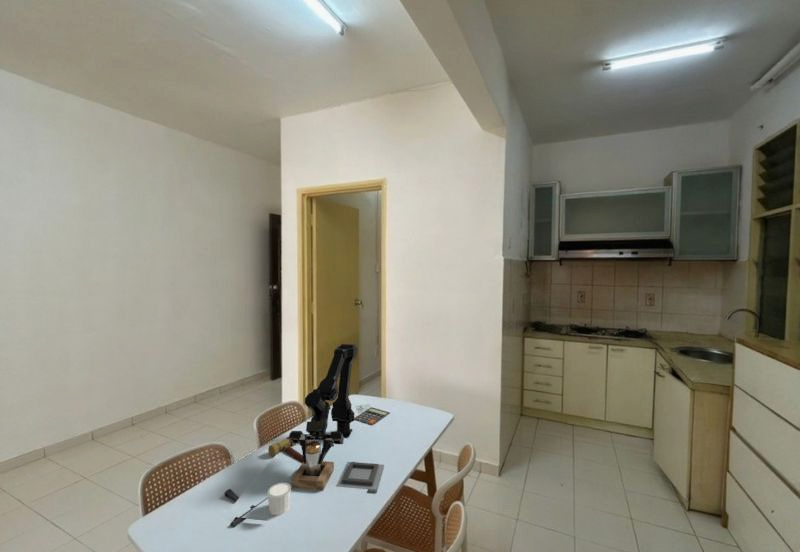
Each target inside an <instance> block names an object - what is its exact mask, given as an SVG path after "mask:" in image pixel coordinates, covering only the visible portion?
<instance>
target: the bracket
mask: <svg viewBox="0 0 800 552" xmlns="http://www.w3.org/2000/svg"><path fill="white" fill-rule="evenodd" d="M224 496H225V497H226V498H227V499H229V500H231V501H232V502H234V503H237V501H238V500H239V499H240V496H238V495H237V494H236V493H235V492H234V491H233V490H232V489H231V488H229V489H227V490H226V491H224ZM266 500H268V497H266V498H265V499H264V500H262V501H260V502H259V503H258V504H256V505H254V504H253V505H251V506H249V508H250V509H249V510H247V511H246V512H245V513H243V514H241V515H240V516H235V517H234V518H233V519H232V521H231V523H230V526H233V528H235V527H237V526H238V525H240V524H241V523H242V522H244V521H246V520H247V518H246V517H244V516H246V515H247V514H248V513H250V512H252V510H253V509H255V508H257V507H258V506H260V505H261V504H262V503H263V502H265V501H266Z"/></svg>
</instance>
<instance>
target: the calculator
mask: <svg viewBox="0 0 800 552" xmlns="http://www.w3.org/2000/svg"><path fill="white" fill-rule="evenodd" d="M390 414H391V412H389V411H386V410H383V409H382V410H381V409H379V408H375V407H370V408H368V409H366V410H364V411H363V412H361V413H360V414H358V415H356V416H354V421H357V422H360V423H363V424H367V425H369V426H374V425H375V424H377V423H378V422H380V421H381V420H383V419H384V418H385V417H388V415H390Z"/></svg>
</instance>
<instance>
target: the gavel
mask: <svg viewBox="0 0 800 552" xmlns="http://www.w3.org/2000/svg"><path fill="white" fill-rule="evenodd" d="M288 438H289V436H287V437H286V438H285V439H282V440H280V441H278V442H275V443H272V444H270V445H269V446H268V454H269V456H270V457H272V458H274V457H276V456H277V455H279V454H280V452H281V453H282V452H283V451H284V452H285V453H286V454H287V455H289V456H290V457H292V458H294V459H295V460H297V461H299V463H301V464H302V463H303V453H302V454H301V453H300V452H299V451H298V450H296V449H294V448H293V447H294V446H297V443H292V442H291V441H290V440H289V439H288Z"/></svg>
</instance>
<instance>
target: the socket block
mask: <svg viewBox="0 0 800 552" xmlns="http://www.w3.org/2000/svg"><path fill="white" fill-rule="evenodd" d="M334 468H335V462H334V461H326V460H325V461H324V460H323V461H322V463H321V474H320V476H319V477H317V476H306V464H304V463H301V464H300V466H299V468H297V470H296V472H295V473H294V475H293V476H292V477H291V489H301V490H314V491H324V490H325V488H326V486H327V484H328V483H329V480H330V479H331V476H332V474H333V473H334V470H335V469H334Z"/></svg>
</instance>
